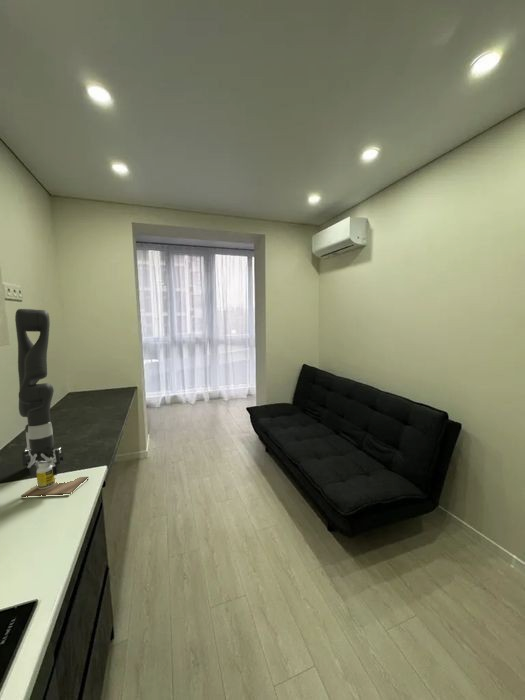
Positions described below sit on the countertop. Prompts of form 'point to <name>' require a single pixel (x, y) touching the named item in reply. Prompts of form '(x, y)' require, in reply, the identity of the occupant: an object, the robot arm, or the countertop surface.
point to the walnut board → (55, 488)
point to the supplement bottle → (45, 475)
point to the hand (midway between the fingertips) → (44, 475)
